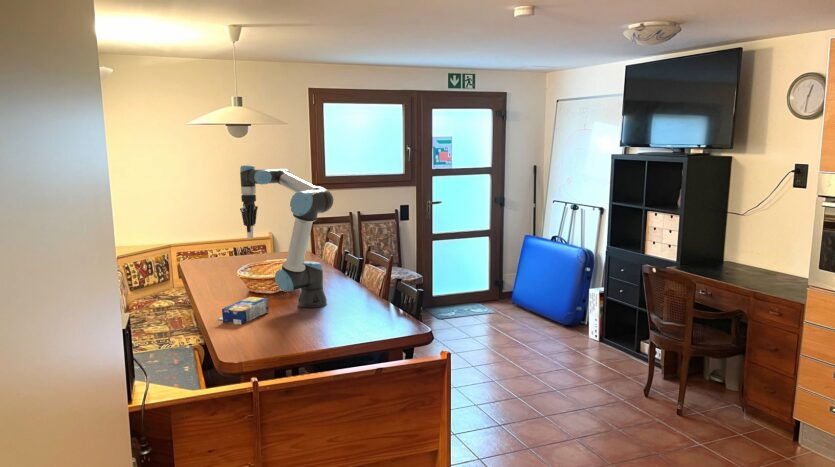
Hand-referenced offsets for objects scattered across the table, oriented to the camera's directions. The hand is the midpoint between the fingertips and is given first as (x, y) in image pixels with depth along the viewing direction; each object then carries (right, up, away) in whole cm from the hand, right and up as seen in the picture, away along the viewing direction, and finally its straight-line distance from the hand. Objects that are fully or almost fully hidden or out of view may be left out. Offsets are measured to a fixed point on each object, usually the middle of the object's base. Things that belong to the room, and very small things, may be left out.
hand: (250, 237), depth 318 cm
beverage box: (+10, -34, -19) cm, 40 cm away
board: (+4, -39, -25) cm, 46 cm away
